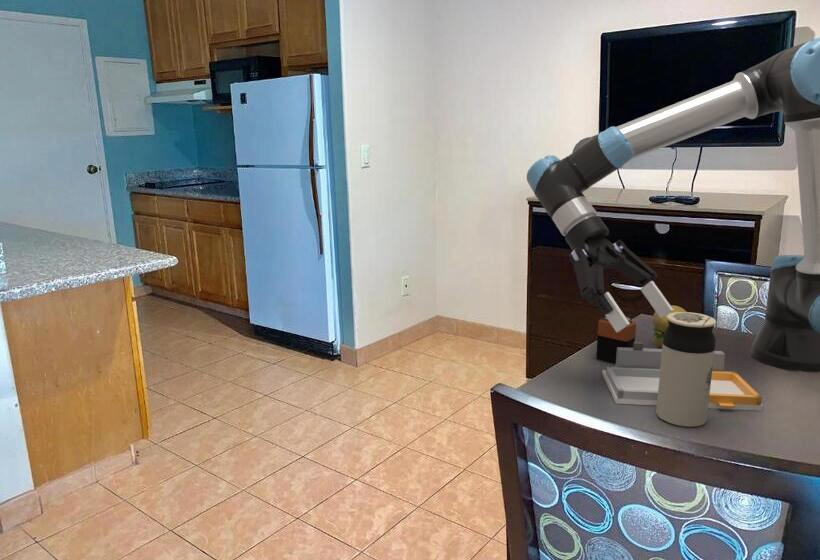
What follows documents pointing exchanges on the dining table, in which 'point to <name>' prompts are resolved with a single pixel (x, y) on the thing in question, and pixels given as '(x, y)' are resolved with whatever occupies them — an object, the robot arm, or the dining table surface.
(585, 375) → the dining table surface
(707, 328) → the travel mug
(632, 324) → the battery
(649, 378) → the grey orange flat box
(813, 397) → the dining table surface
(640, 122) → the robot arm
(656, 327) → the hamburger
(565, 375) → the dining table surface
